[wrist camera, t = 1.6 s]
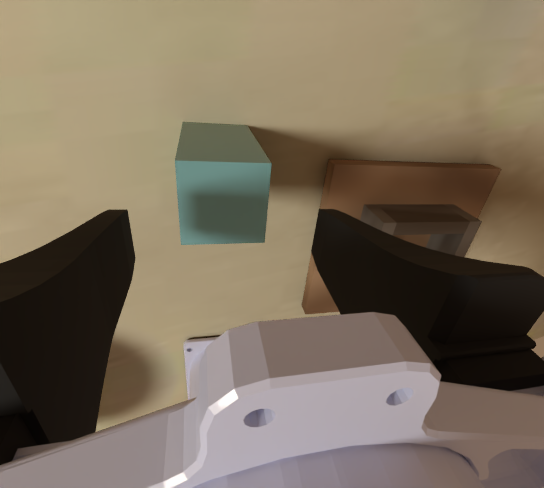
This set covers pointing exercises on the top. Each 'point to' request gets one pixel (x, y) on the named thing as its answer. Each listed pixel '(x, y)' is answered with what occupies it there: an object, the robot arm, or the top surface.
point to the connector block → (221, 184)
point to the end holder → (404, 207)
